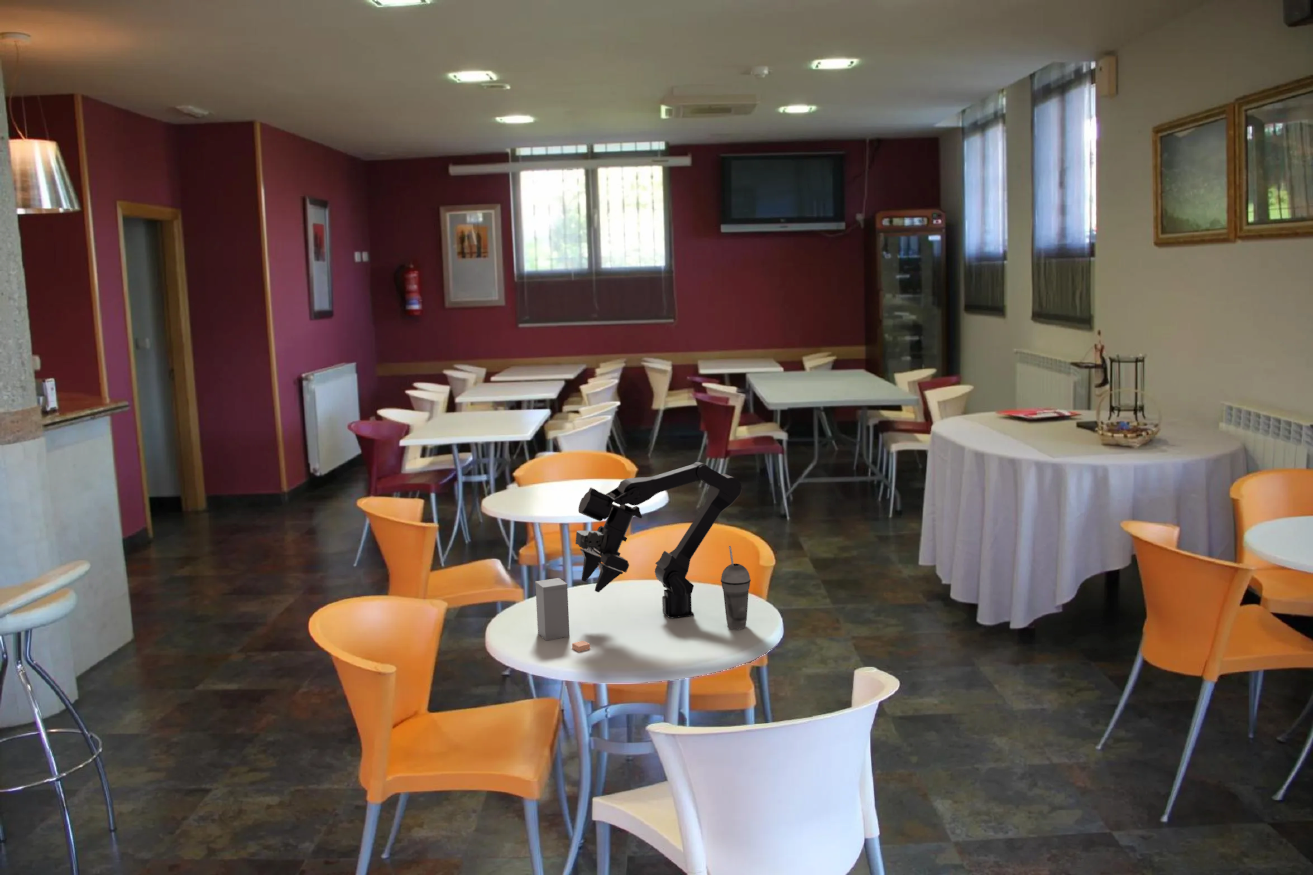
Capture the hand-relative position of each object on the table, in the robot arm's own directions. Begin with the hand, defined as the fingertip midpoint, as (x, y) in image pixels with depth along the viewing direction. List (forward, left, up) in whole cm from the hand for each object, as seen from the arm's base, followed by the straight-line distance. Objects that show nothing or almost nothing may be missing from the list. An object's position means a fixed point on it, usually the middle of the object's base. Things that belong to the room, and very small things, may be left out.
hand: (589, 586), depth 265 cm
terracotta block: (+6, +15, -10) cm, 20 cm away
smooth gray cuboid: (+10, +3, -10) cm, 15 cm away
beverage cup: (-33, +14, -10) cm, 37 cm away
